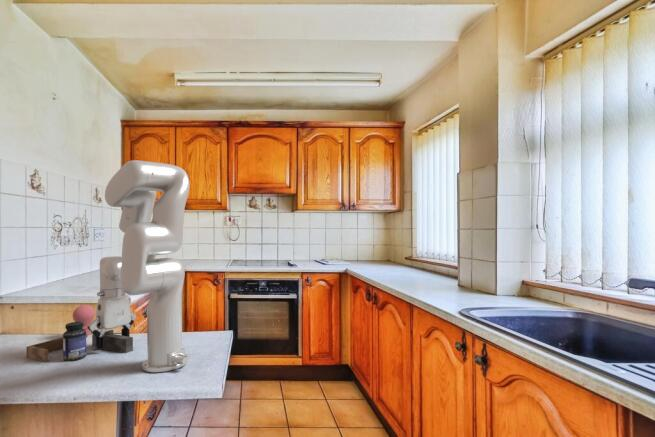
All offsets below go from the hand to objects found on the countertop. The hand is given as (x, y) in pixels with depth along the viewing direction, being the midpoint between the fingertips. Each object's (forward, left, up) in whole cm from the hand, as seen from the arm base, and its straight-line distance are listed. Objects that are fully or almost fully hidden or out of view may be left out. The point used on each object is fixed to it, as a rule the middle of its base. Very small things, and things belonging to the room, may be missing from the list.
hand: (113, 344), depth 130 cm
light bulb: (+24, -5, -2) cm, 24 cm away
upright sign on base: (0, 0, -2) cm, 2 cm away
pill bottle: (+3, +11, -2) cm, 12 cm away
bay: (+13, +11, -1) cm, 17 cm away
